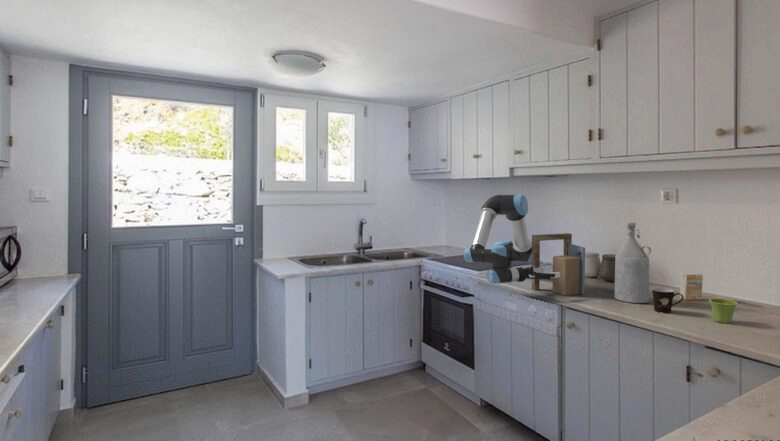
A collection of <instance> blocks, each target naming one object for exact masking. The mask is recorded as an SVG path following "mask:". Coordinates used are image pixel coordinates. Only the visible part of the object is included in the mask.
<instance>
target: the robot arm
mask: <svg viewBox="0 0 780 441" xmlns="http://www.w3.org/2000/svg"><path fill="white" fill-rule="evenodd" d="M528 212H529V202H528V199H527V197H526V195H524V194H519V193H517V194H516V193H515V194H496V195H492V196H491V197H490V198H488V199H487V200H486V201H485V202H484V204H482V206H481V209H480V211H479V214H480V216H479V220H478V224H477V227H476V230H475V233H474V236H473V240H472V243H471V245H470V246H471V247H468V248H465V249H464V252H463V259H464V260H465V262H466V263H471V264H473V263H474V264H488V265H489V264H490V265H491V269H488V270H487V273H486V278H487V281H488V283H490V284H492V285H495V284H508V283H509V284H513V283H520V282H525V280H526V279H530V280H532V279H540V280H547V281H549V280H551V279H553V278H557V277H560V272H553V271H552V272H547V273H546V272H545V267H540V268H533V267H532V266H530V267H524V268H523V267H521V266H520V267H513V262H522V263H532V239H530V238H529V233H528V230H527V225H526V220H525V217H526V215H527V214H528ZM498 215H501V216H503V215H504V216H505V218H506V219H507V220H508V221H509V223H510V229H511V232H512V236H513V241H512V240H509V239H508V240H498V241H496V242H493V246H492V247H491V248H489V249H487V248H486V247H487V243H488V240H489V237H490V233H491V230H492V227H493V224H494V223H493V222H494V220H495V219H496V218H497V216H498ZM533 273H534V274H533Z"/></svg>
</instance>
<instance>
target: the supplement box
mask: <svg viewBox="0 0 780 441" xmlns="http://www.w3.org/2000/svg"><path fill="white" fill-rule="evenodd" d="M679 293H680V294H682V295H683V300H684V301H702V300H703V299H702V296H703V274H701V273H697V272H693V273H692V272H684V273H683V272H680V284H679ZM679 298H680V300H681V299H682V296H681V295H679Z"/></svg>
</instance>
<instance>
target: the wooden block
mask: <svg viewBox="0 0 780 441" xmlns="http://www.w3.org/2000/svg"><path fill="white" fill-rule="evenodd" d="M552 272H560V277H557V278H552V293H555V294H558V295H561V296H565V297H566V296H567V297H568V296H575V295H580V294H581V293H580V258H579V257H574V256H569V255H564V254H563V255H555V256H552Z"/></svg>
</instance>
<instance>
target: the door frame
mask: <svg viewBox="0 0 780 441" xmlns="http://www.w3.org/2000/svg"><path fill="white" fill-rule="evenodd" d="M572 237H573V234H572V233H568V232H566V233H550V234H549V233H547V234H545V233H544V234H532V235H531V242H532V262H531V267H533V268H541V265H540V264H541V261H540V260H541V257H540V256H541V254H540V252H541V251H540V250H541V241H560V240H562V241H563V255H568V244H573V242H572V240H573V239H572ZM533 274H534V273H533ZM540 280H541V279H531V290H533V291H540V288H541V287H540V285H541V284H540Z"/></svg>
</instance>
